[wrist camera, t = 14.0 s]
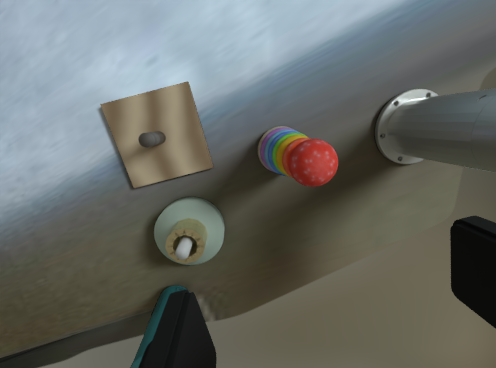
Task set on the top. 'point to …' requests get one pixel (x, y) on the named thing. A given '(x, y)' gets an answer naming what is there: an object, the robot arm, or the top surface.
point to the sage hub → (193, 210)
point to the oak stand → (158, 134)
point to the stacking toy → (297, 156)
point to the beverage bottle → (154, 322)
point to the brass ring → (190, 229)
